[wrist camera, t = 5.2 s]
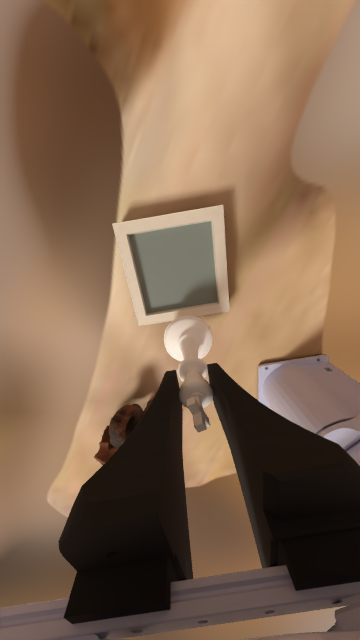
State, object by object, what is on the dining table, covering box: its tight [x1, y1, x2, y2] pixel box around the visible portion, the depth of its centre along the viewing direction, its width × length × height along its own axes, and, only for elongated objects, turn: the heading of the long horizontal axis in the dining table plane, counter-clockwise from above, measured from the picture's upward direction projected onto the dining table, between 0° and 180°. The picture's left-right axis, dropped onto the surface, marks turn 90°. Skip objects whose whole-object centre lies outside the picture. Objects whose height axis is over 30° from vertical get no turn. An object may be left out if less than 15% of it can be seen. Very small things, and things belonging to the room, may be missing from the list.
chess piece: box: [164, 315, 213, 432], centre depth 13 cm, size 5×5×10 cm
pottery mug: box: [94, 401, 151, 465], centre depth 24 cm, size 12×10×8 cm
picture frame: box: [112, 205, 229, 326], centre depth 18 cm, size 10×10×2 cm
